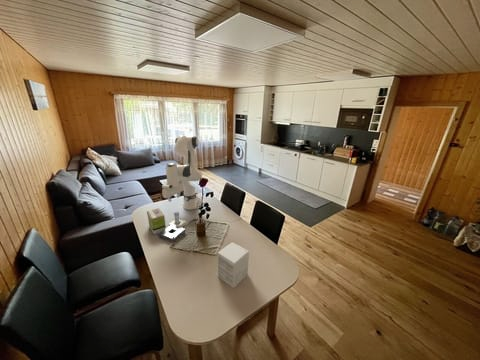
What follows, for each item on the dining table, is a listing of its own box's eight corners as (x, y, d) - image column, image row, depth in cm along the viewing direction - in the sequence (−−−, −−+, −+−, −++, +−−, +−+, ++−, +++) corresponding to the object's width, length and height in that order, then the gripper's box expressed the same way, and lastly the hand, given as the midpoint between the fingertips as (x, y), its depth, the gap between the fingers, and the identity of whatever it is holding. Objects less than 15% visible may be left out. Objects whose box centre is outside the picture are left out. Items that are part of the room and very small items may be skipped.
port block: (171, 228, 161) (171, 224, 159) (185, 233, 156) (185, 228, 154) (159, 238, 148) (158, 233, 147) (173, 243, 143) (172, 237, 142)
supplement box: (232, 264, 125) (232, 241, 119) (248, 274, 117) (249, 250, 112) (217, 276, 115) (216, 252, 110) (233, 288, 107) (234, 263, 102)
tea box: (148, 226, 163) (146, 210, 158) (161, 222, 169) (159, 207, 164) (153, 235, 152) (151, 218, 147) (166, 230, 158) (164, 214, 153)
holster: (176, 221, 172) (176, 218, 171) (186, 224, 168) (185, 221, 167) (168, 227, 163) (168, 224, 162) (178, 230, 159) (178, 226, 158)
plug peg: (177, 223, 168) (176, 211, 164) (181, 225, 167) (180, 212, 163) (174, 226, 164) (172, 213, 161) (177, 227, 163) (176, 214, 159)
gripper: (179, 179, 164) (180, 194, 168) (160, 186, 146) (161, 203, 150) (185, 180, 161) (186, 195, 165) (166, 187, 143) (168, 204, 148)
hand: (174, 199), depth 158 cm, fingers open, 8 cm apart
